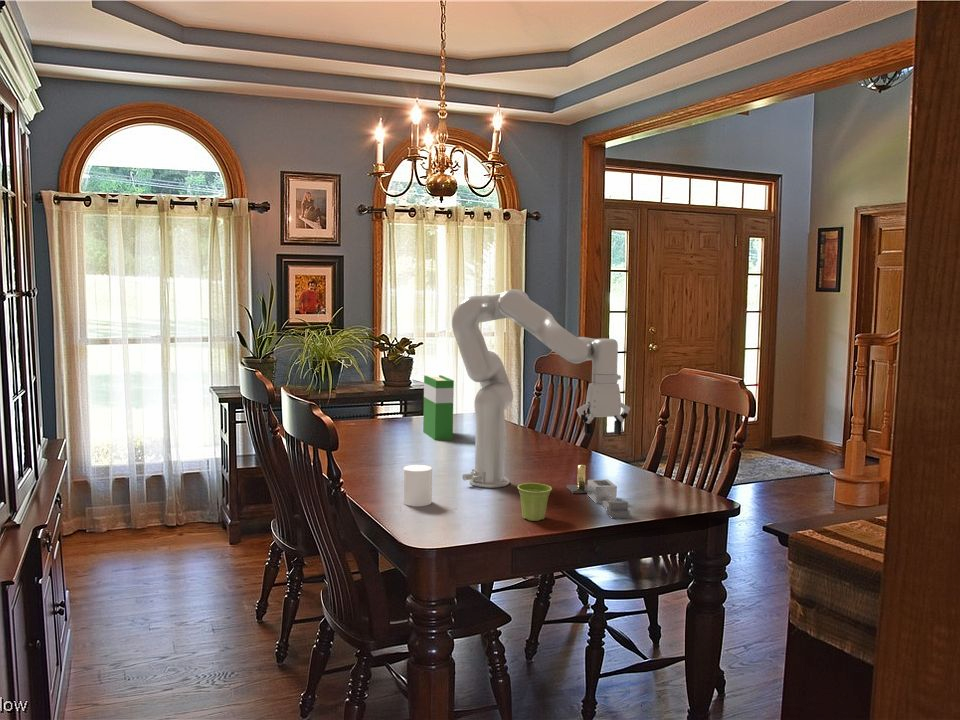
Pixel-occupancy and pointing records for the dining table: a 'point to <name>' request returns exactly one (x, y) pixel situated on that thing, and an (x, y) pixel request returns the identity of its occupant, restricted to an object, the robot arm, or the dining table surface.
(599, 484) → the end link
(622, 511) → the grey boxy piece
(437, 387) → the hardback book
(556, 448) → the dining table surface
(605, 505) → the slack link
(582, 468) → the yellow peg stand
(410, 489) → the white cylinder
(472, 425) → the dining table surface
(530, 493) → the plant pot
